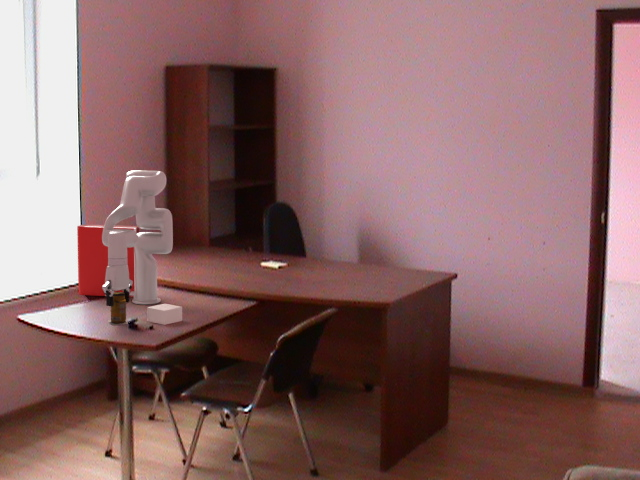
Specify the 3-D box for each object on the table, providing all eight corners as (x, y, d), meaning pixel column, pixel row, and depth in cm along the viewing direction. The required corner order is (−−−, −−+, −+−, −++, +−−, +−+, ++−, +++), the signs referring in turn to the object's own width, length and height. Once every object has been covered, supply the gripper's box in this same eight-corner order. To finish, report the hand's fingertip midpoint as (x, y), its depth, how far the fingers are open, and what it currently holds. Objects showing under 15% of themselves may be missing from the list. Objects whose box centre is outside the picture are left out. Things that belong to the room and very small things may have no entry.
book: (139, 293, 431) (139, 226, 427) (134, 297, 423) (133, 228, 419) (83, 291, 434) (82, 224, 430) (77, 294, 426) (76, 226, 422)
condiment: (125, 319, 377) (124, 290, 375) (130, 323, 369) (129, 294, 368) (107, 321, 374) (106, 292, 372) (112, 325, 366) (111, 295, 364)
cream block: (147, 321, 374) (147, 307, 374) (164, 317, 382) (164, 303, 382) (164, 325, 369) (164, 310, 368) (182, 321, 377) (182, 306, 376)
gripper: (124, 259, 377) (124, 300, 379) (95, 263, 362) (96, 306, 364) (138, 260, 374) (139, 301, 376) (110, 265, 359) (110, 308, 360)
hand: (118, 304), depth 370 cm, fingers open, 9 cm apart
